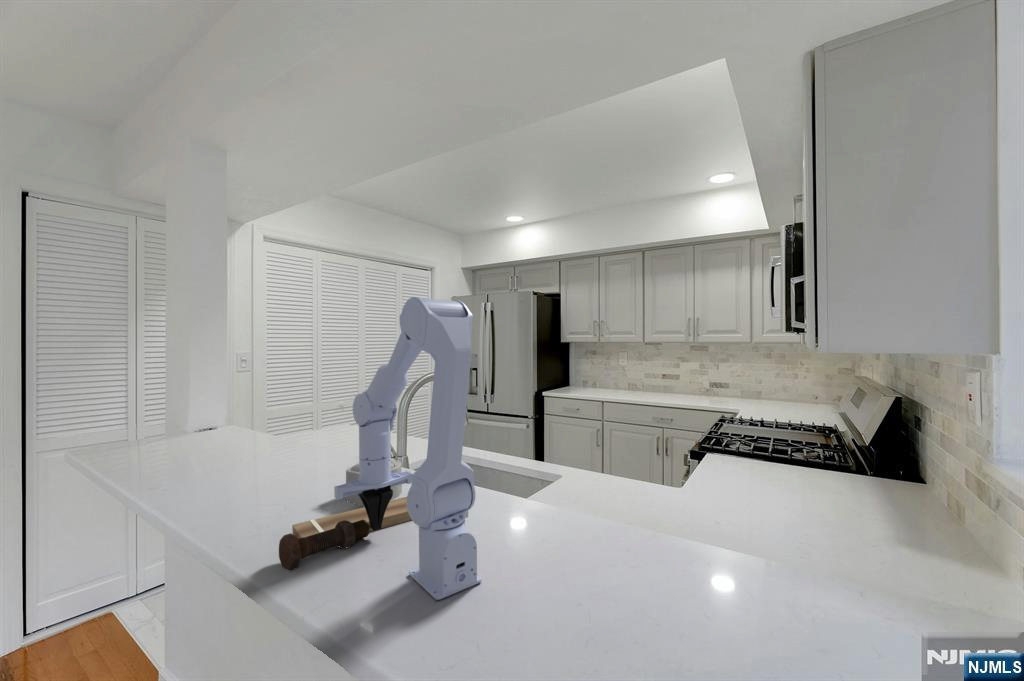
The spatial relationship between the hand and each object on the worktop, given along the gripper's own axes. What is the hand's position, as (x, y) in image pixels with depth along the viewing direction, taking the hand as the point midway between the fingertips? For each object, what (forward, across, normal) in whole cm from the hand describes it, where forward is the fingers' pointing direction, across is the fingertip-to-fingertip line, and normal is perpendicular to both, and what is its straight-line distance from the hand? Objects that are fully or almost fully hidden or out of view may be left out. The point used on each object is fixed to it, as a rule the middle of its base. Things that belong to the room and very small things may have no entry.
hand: (375, 528), depth 83 cm
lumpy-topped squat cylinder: (+2, -9, -22) cm, 24 cm away
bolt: (+2, +8, 0) cm, 9 cm away
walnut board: (+2, 0, -7) cm, 8 cm away
